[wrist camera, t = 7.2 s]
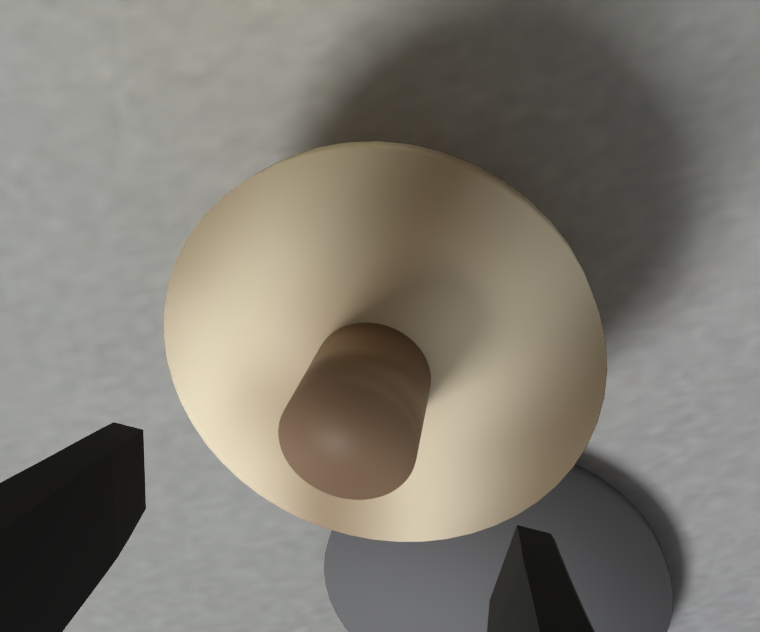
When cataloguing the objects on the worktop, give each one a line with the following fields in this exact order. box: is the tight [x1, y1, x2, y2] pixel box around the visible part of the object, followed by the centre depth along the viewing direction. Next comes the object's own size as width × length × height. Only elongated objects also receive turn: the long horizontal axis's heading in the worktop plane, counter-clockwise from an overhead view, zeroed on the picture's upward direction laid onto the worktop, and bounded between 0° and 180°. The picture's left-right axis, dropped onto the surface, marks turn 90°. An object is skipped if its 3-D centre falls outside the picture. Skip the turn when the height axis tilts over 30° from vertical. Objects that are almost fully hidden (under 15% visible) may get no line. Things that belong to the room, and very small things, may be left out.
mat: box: [324, 465, 673, 632], centre depth 25 cm, size 14×14×1 cm
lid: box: [164, 141, 607, 542], centre depth 15 cm, size 12×12×4 cm
